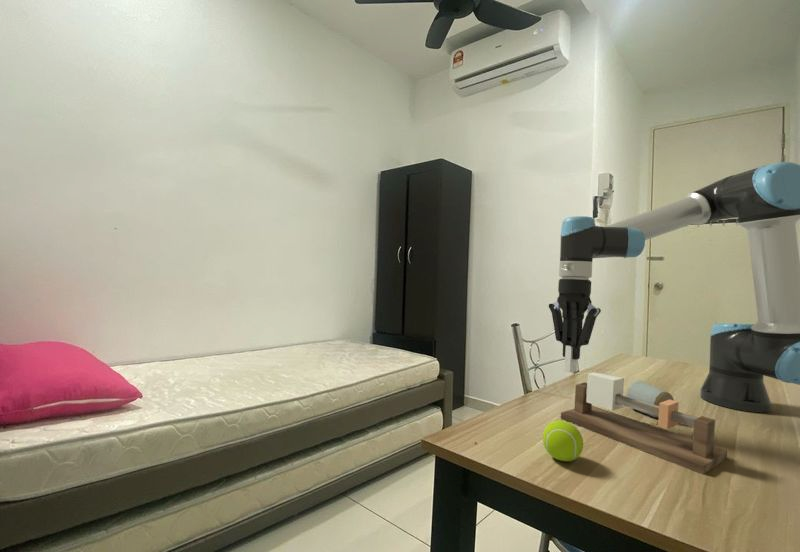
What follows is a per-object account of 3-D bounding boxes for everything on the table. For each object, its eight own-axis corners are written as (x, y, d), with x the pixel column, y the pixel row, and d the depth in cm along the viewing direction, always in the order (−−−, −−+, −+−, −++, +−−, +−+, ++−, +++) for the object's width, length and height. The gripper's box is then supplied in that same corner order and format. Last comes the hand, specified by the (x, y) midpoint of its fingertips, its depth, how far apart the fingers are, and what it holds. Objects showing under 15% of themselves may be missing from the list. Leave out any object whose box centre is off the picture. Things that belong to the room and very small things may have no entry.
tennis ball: (545, 446, 75) (546, 412, 75) (583, 456, 71) (585, 420, 71) (538, 461, 69) (540, 423, 69) (580, 473, 65) (582, 433, 65)
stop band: (668, 422, 78) (669, 399, 78) (677, 424, 77) (678, 401, 77) (658, 426, 76) (659, 403, 76) (667, 429, 74) (668, 405, 74)
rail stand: (588, 410, 96) (589, 379, 96) (726, 458, 73) (729, 417, 73) (560, 418, 90) (562, 385, 90) (703, 474, 66) (705, 429, 66)
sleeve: (596, 399, 91) (598, 371, 91) (622, 407, 86) (623, 378, 86) (586, 402, 88) (587, 373, 88) (612, 410, 83) (613, 380, 83)
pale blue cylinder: (655, 422, 90) (657, 390, 90) (624, 409, 98) (626, 380, 98) (684, 418, 94) (686, 388, 94) (653, 407, 102) (654, 379, 102)
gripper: (543, 277, 98) (538, 366, 98) (591, 279, 87) (586, 379, 87) (560, 277, 102) (556, 363, 102) (608, 280, 91) (603, 376, 91)
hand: (570, 371), depth 95 cm, fingers closed
